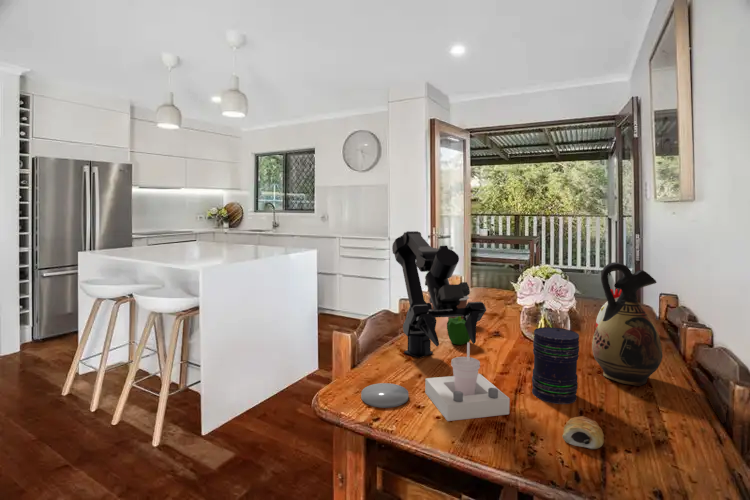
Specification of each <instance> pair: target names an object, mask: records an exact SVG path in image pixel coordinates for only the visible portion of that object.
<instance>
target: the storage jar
mask: <svg viewBox="0 0 750 500" xmlns="http://www.w3.org/2000/svg"><path fill="white" fill-rule="evenodd" d="M533 335H534V336H533V341H532V342H533V343H532V344H533V345H532V346H533V348H532V355H534V357H533V369H532V376H531V382H532V389H531V393H532V395H533V396H534V397H535V396H536V397H535V398H537V399H538V398H539V399H538V400H540V399H541V401H543V402H546V403H549V404H550V403H551V404H556V405H570V404H573V403H575V402H576V401H577V397H578V396H577V393H578V383H579V382H578V375H577V371H578V370H577V369H578V365H577V364H578V360H579V356H580V355H579V352H580V345H579V344H580V341H579V340H580V334H579V333H578V332H576V331H574V330H572V329H571V330H570V329H567V328H566V329H565V328H560V327H554V326H553V327H552V326H551V327H550V326H547V327H538V328H535V329H534V330H533Z"/></svg>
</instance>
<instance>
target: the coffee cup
mask: <svg viewBox="0 0 750 500" xmlns="http://www.w3.org/2000/svg"><path fill="white" fill-rule="evenodd" d="M469 299H470V297H469V295H467V296H464V298H461V299H460V304H459V305H457V308H465V307H466V305H467V304H468V300H469ZM456 317H458V316H456ZM456 317H447V318H448V319H447V321H448V320H449V318H456ZM461 319H464V318H463V316H461Z"/></svg>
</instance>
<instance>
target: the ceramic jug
mask: <svg viewBox="0 0 750 500" xmlns="http://www.w3.org/2000/svg"><path fill="white" fill-rule="evenodd" d="M616 271H619V272H620V273H623V276H622V277H620V278H619V279H618V280H617V281H616V282H615V283H614V288H616V289H619V290H620V289H621V290H622V292H621V294H620V296H619V298H618V299H617V301H615V299H614V296H613V294H612V292H611V289H612V288H611V286H610V282H609V274H611V273H612V272H616ZM600 272H601V273H600V280H601V285H602V288H603V291H604V295H605V298H606V302H607V301H608V305H607V308H606V311H605V315H604V317H603V319H602V320H601V321H600V323H599V324H598V326H597V327H596V328H595V331H594V334H593V337H592V343H591V349H592V354H593V357H594V360H595V361H596V363H597V364H598V365H599V367H600V368H601V369H602V371H603V375H602V376H603V377H605V378H607V379H609V380H612V381H614V382H617V383H619V384H623V385H624V384H625V385H629V386H631V385H632V386H634V387H635V386H636V387H641V386H644V385H646V383H647V382H648V379H649V377H651V376H652V375H653V374H654V373H655V372H656V371H657V370H658V369H659V367H660V365H661V363H662V360H663V356H664V355H663V348H662V342H661V339H660V338H661V337H660V334H659V332H658V331H657V328H656V326H655V324H654V323H653V321H652V320H651V317H649V315H648V314H647V312H646V311H645V309H644V308H643V307H642V305H641V304H640V301H638V299H637V298H638V296H637V291H638V290H640V289H643V288H645V287H648V286H652V285H655V284H656V283H657V280H656V279H655V278H653V276H652V275H651V274H650V273H648V272H646V271H645V270H644V269H638V270H637V271H636V272H635V273H632V271H631V269H630V268H629V266H627V265H625V264H623V263H621V262H616V261H615V262H610V263H608V264H606V265H605V266H604V267H603V268H602V270H601V271H600Z"/></svg>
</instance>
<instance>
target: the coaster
mask: <svg viewBox="0 0 750 500" xmlns="http://www.w3.org/2000/svg"><path fill="white" fill-rule="evenodd" d="M360 394H361V396H360V399H361V401H362V402H363V403H365V404H366V405H368V406H371V407H373V408H381V409H388V408H396V407H399V406H403V405H405V403H407V402H408V400H409V391H408V389H407V388H406V387H404V386H401V385H400V384H399V385H398V384H395V383H390V382H389V383H388V382H382V383H374V384H370V385H368V386H366V387H364V388H363V389H361V391H360Z"/></svg>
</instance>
